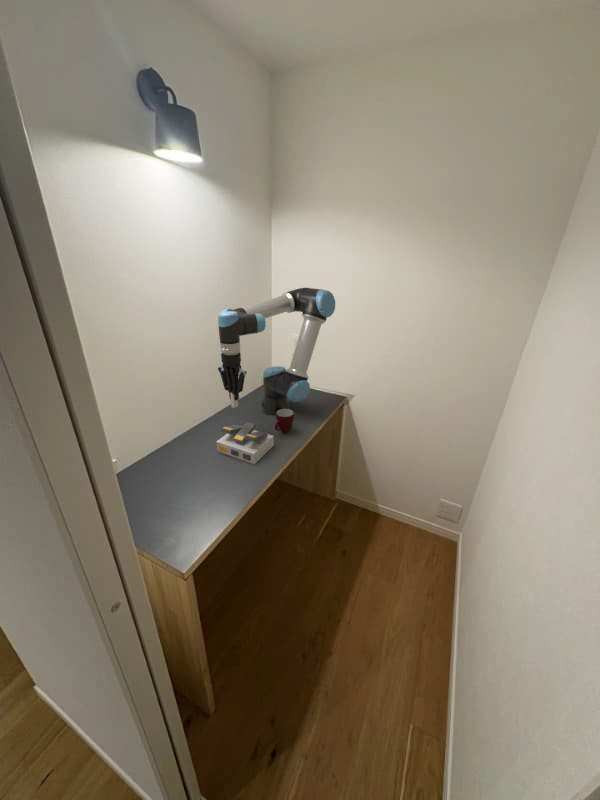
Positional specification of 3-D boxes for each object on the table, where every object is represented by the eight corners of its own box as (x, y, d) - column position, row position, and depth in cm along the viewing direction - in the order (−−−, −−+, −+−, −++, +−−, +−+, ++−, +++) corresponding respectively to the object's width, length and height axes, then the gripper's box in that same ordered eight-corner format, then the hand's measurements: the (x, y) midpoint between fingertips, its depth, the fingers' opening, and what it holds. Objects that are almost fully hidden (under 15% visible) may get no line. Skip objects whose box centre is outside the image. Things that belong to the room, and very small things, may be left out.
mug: (284, 440, 142) (284, 421, 138) (270, 435, 146) (269, 416, 142) (296, 429, 150) (296, 411, 146) (282, 425, 154) (282, 407, 150)
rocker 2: (247, 424, 137) (246, 421, 136) (255, 426, 135) (254, 423, 134) (234, 441, 131) (233, 438, 130) (243, 443, 129) (241, 441, 128)
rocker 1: (236, 427, 141) (236, 423, 140) (244, 430, 139) (244, 426, 139) (221, 431, 132) (222, 427, 131) (229, 434, 130) (230, 430, 130)
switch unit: (238, 434, 146) (237, 421, 143) (273, 445, 138) (273, 432, 135) (217, 451, 134) (215, 438, 131) (253, 464, 126) (252, 450, 123)
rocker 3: (258, 434, 136) (259, 430, 135) (267, 437, 134) (267, 432, 134) (244, 439, 127) (245, 434, 126) (254, 442, 125) (254, 437, 125)
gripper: (211, 352, 123) (216, 406, 133) (238, 357, 117) (242, 413, 127) (223, 347, 129) (228, 399, 139) (250, 352, 123) (252, 406, 133)
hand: (234, 406), depth 133 cm, fingers closed
